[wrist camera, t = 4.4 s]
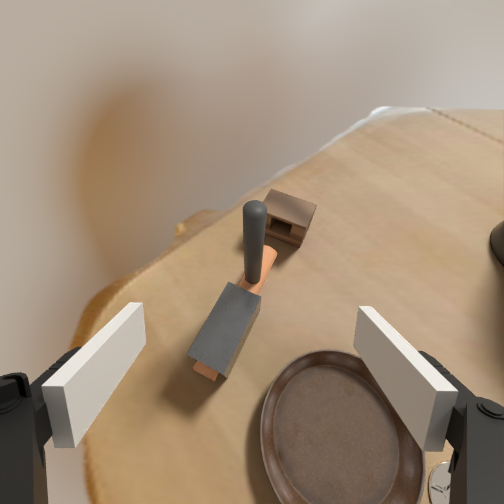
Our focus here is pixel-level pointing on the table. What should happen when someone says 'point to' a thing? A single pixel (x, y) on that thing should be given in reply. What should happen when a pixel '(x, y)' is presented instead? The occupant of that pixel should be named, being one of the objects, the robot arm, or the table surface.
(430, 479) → the wineglass
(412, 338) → the table surface
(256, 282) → the sliding bolt
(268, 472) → the plant saucer
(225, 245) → the table surface
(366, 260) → the table surface
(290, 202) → the socket
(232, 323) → the sleeve
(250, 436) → the table surface
